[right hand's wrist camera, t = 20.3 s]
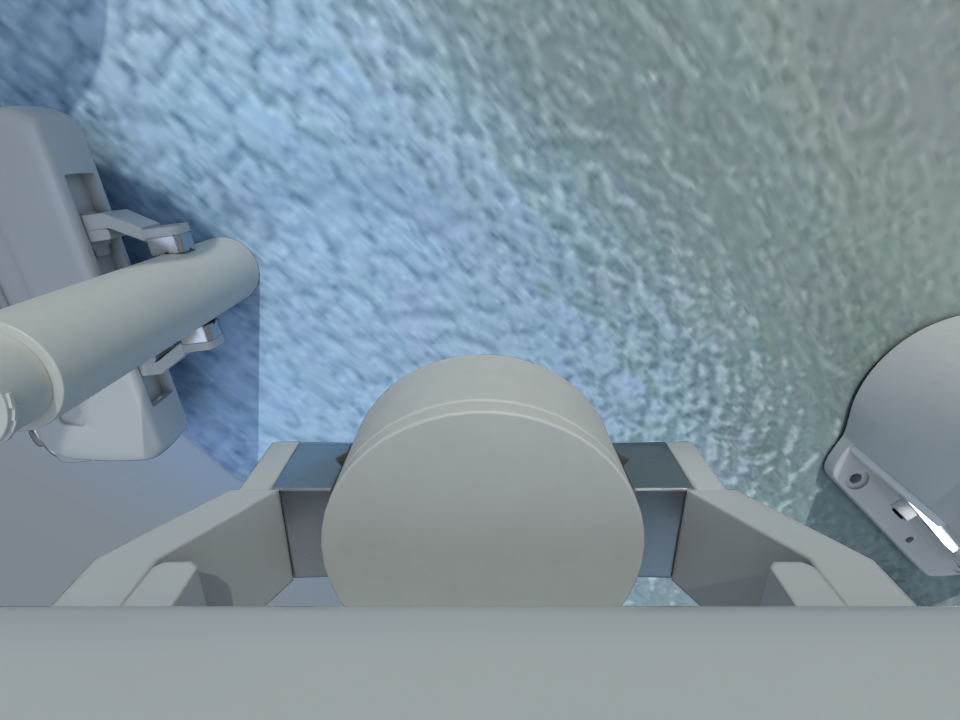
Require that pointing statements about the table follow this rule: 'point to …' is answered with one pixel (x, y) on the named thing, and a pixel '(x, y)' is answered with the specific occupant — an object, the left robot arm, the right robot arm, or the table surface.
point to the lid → (482, 495)
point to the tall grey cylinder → (111, 327)
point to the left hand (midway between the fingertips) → (202, 285)
